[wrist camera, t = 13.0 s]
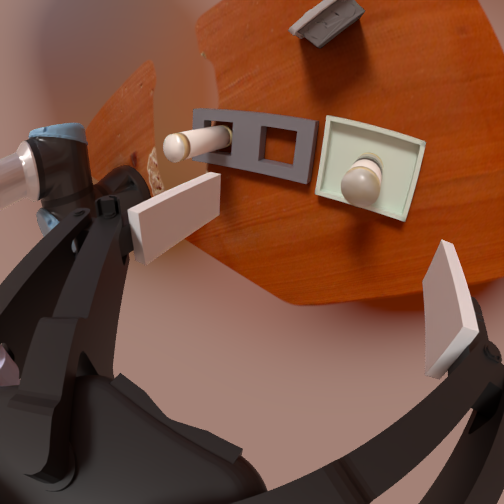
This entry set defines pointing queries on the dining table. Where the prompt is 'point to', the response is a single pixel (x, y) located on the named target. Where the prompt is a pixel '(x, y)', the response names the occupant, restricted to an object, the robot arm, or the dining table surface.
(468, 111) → the dining table surface
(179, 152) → the fuse
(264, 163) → the fuse block
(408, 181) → the parts tray
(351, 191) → the fuse
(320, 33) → the electrical switch
